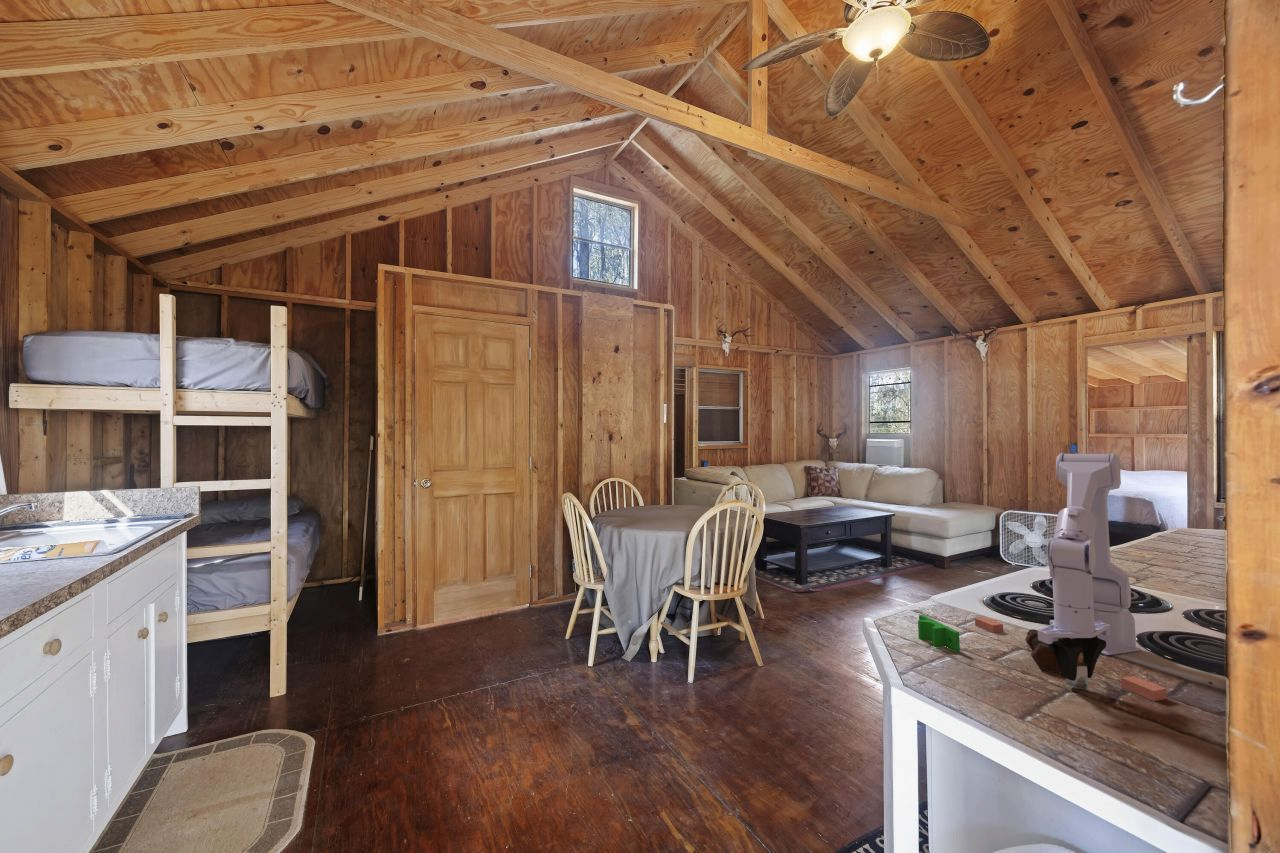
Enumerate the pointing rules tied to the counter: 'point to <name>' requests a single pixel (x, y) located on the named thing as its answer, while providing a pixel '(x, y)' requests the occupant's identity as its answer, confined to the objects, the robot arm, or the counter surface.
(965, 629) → the counter surface
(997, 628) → the block
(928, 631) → the pipe clamp
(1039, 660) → the bolt
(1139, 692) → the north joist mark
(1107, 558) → the robot arm
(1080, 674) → the two-tone metal capsule
